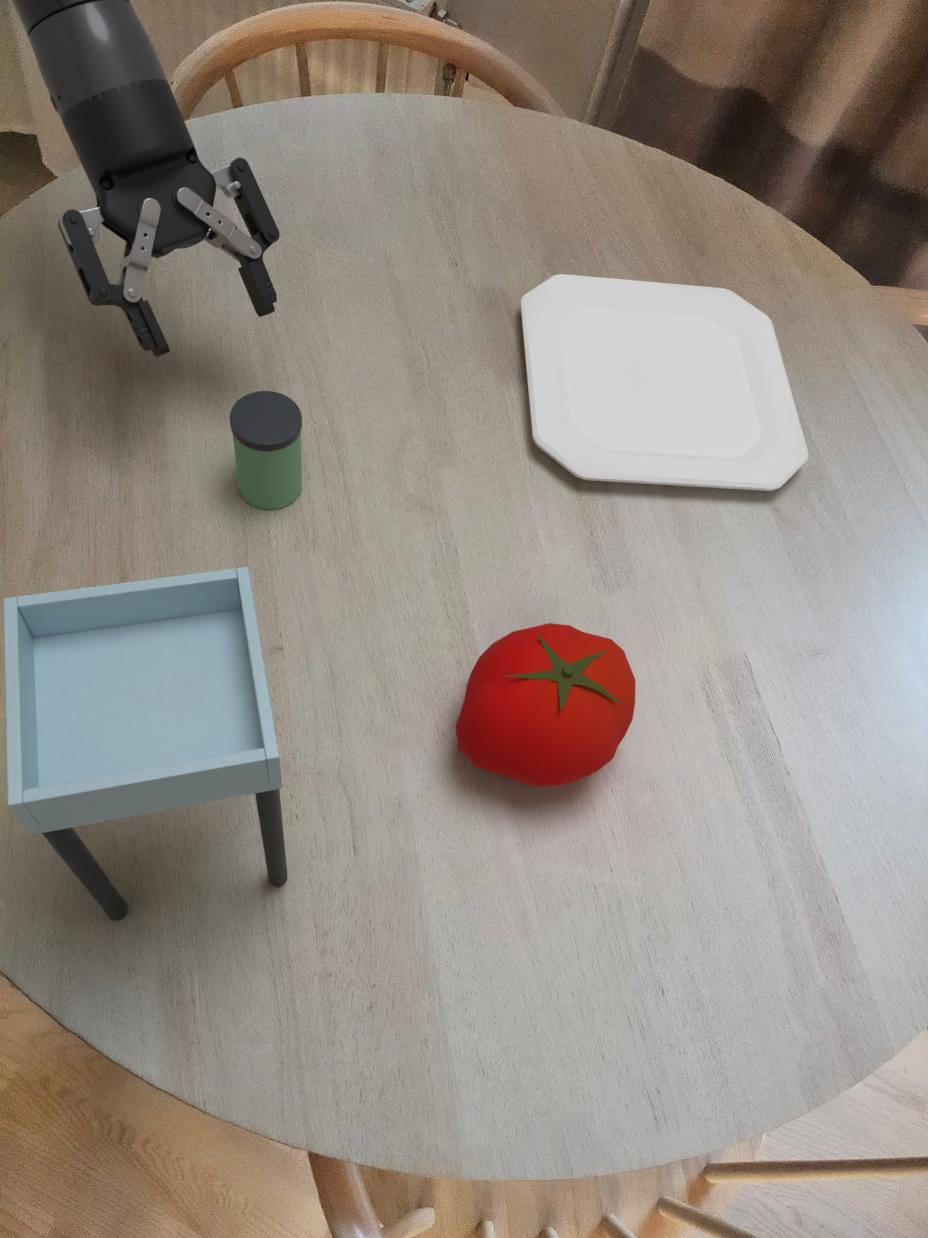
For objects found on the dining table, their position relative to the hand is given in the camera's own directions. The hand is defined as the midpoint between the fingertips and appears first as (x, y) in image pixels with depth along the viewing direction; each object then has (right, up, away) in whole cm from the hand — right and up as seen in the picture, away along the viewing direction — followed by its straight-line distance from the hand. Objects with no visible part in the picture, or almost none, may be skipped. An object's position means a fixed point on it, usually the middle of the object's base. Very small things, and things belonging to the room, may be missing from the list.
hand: (216, 333), depth 69 cm
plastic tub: (+3, -10, +7) cm, 12 cm away
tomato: (+23, -29, -1) cm, 37 cm away
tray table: (0, -34, -8) cm, 35 cm away
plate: (+36, 0, +18) cm, 40 cm away
